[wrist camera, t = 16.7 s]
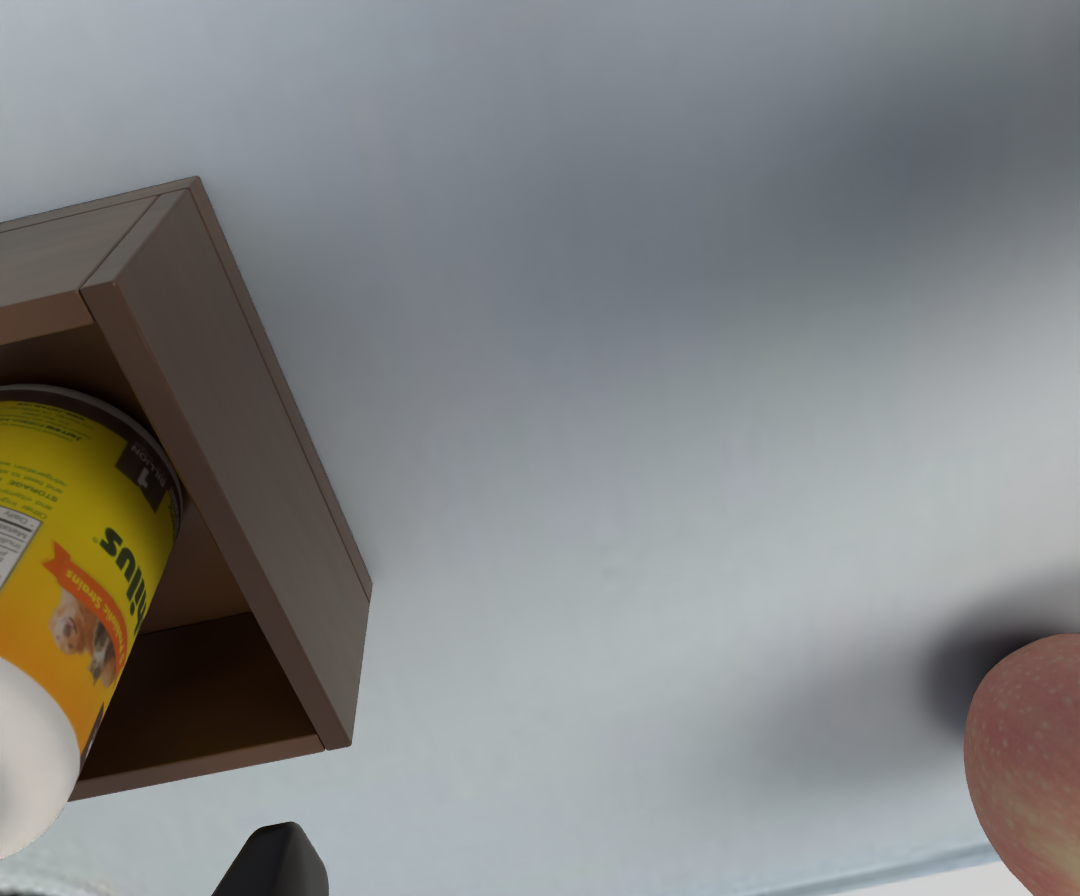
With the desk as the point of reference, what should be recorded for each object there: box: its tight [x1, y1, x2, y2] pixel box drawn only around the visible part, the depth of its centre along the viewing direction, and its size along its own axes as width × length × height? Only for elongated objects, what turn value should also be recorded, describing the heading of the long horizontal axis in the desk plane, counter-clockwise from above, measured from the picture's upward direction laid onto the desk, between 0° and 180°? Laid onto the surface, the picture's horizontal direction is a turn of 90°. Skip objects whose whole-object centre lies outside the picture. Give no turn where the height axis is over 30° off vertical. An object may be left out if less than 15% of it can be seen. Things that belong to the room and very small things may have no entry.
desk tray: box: [0, 176, 372, 802], centre depth 20 cm, size 11×11×5 cm
